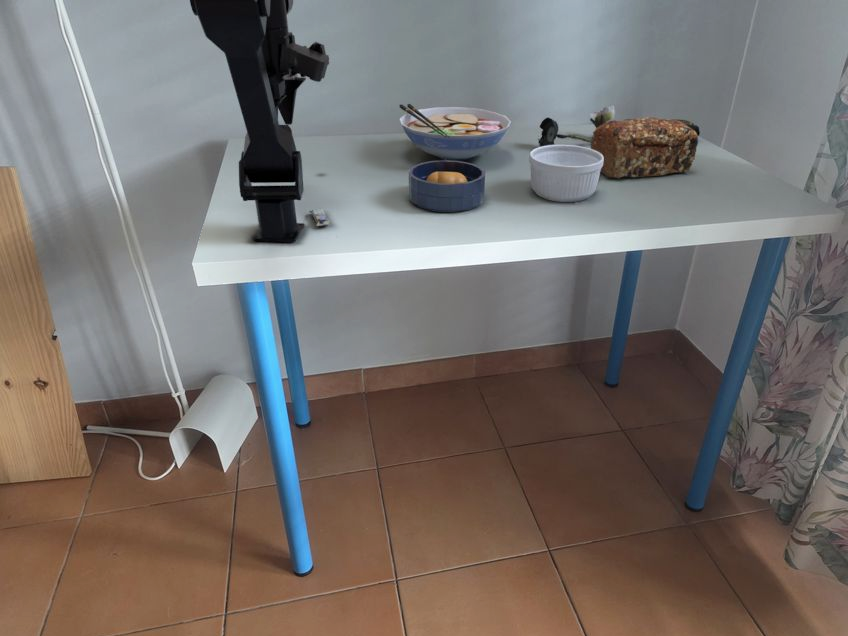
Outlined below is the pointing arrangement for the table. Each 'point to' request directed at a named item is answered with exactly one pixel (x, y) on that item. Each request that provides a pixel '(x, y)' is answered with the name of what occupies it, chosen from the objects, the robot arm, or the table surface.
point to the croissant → (446, 177)
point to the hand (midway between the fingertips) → (281, 131)
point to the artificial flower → (552, 129)
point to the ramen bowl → (454, 130)
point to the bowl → (446, 186)
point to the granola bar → (320, 217)
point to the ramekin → (565, 172)
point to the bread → (645, 147)
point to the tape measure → (690, 125)
